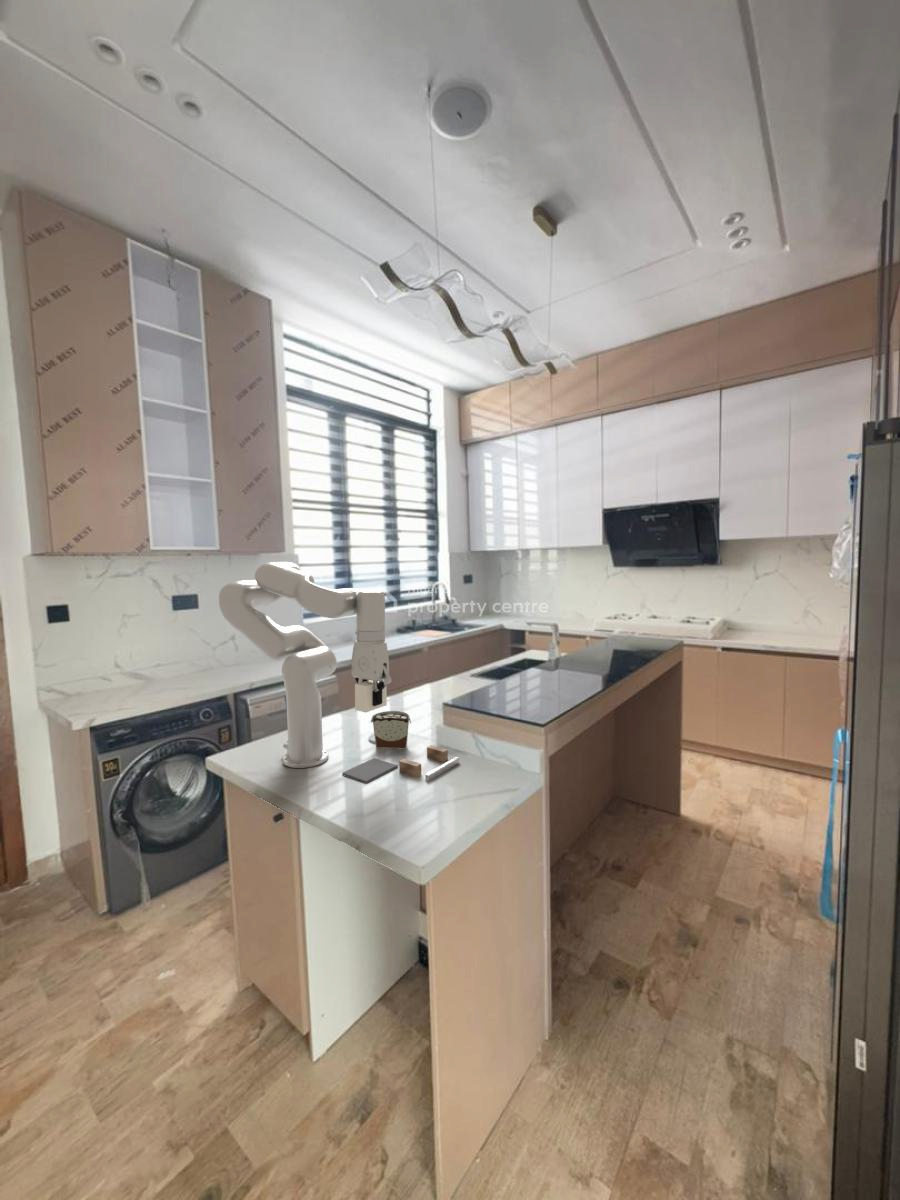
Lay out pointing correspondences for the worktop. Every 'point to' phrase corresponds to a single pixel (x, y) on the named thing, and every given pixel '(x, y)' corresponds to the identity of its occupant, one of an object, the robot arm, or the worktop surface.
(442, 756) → the blocks
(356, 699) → the cream cuboid
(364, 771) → the mat
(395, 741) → the food container
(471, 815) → the worktop surface
